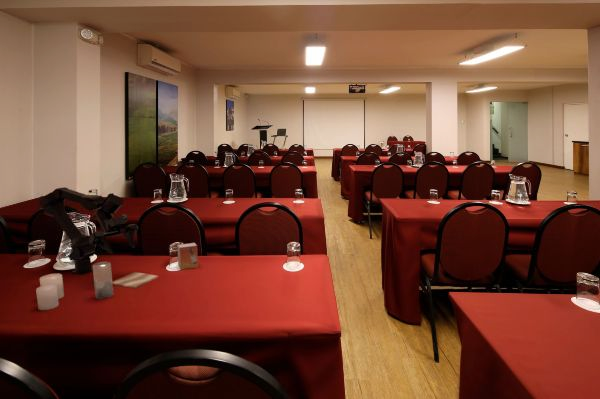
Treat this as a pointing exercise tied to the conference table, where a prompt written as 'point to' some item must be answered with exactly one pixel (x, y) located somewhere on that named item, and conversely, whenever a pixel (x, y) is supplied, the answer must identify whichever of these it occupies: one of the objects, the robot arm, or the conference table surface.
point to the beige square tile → (134, 280)
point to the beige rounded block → (53, 282)
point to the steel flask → (103, 280)
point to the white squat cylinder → (47, 297)
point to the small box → (187, 256)
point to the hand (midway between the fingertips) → (123, 250)
